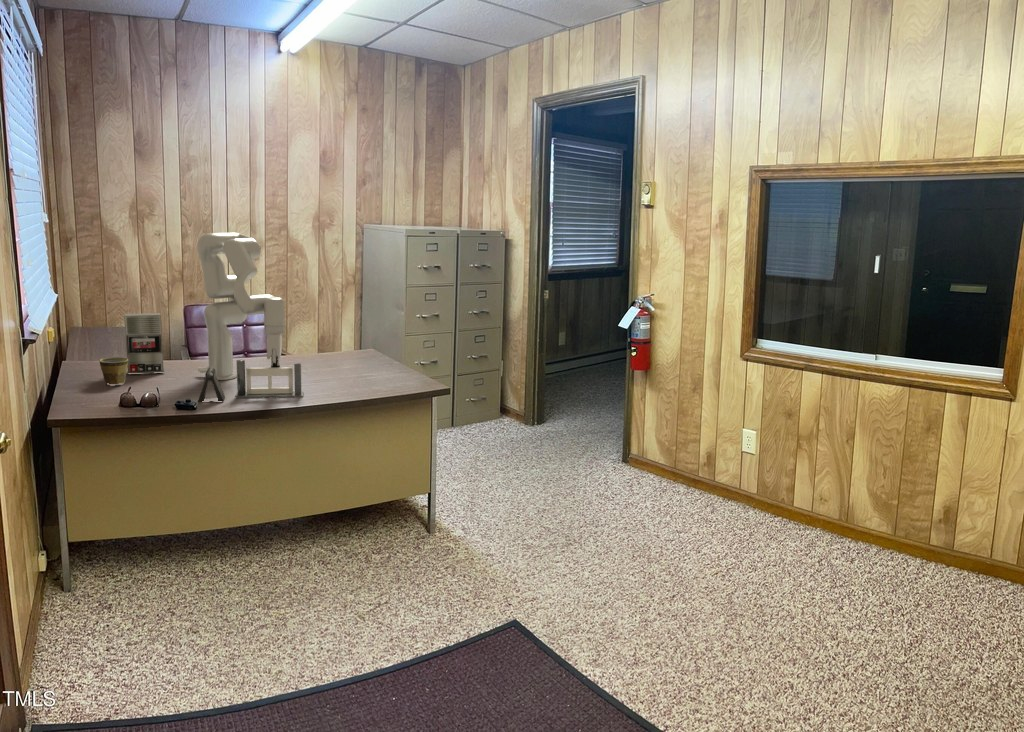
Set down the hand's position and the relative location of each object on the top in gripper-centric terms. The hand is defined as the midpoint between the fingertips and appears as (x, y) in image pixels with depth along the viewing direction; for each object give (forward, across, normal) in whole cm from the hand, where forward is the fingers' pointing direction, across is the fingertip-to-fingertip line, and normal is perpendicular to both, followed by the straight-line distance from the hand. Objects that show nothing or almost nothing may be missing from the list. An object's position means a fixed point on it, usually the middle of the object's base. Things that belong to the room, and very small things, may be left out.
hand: (275, 375), depth 300 cm
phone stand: (+8, +9, -22) cm, 25 cm away
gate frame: (+7, +4, -2) cm, 8 cm away
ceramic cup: (+7, -17, -63) cm, 66 cm away
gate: (+6, +3, -2) cm, 7 cm away
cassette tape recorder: (+7, -35, -55) cm, 66 cm away
